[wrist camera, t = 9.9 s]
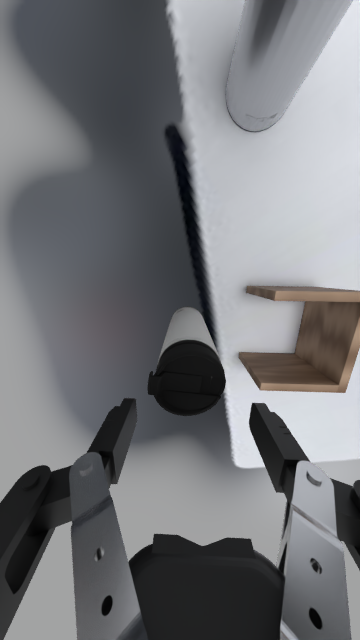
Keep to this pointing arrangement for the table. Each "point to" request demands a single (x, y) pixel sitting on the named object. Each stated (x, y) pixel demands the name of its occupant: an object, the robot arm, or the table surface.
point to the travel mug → (187, 367)
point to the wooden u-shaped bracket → (311, 342)
